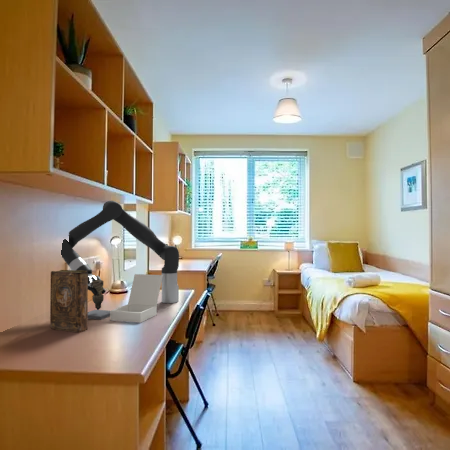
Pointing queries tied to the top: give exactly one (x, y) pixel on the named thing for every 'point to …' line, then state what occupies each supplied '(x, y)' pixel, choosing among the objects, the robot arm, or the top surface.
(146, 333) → the top surface
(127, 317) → the box
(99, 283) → the twisted stone column
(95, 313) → the mat
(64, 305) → the book
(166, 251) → the robot arm
